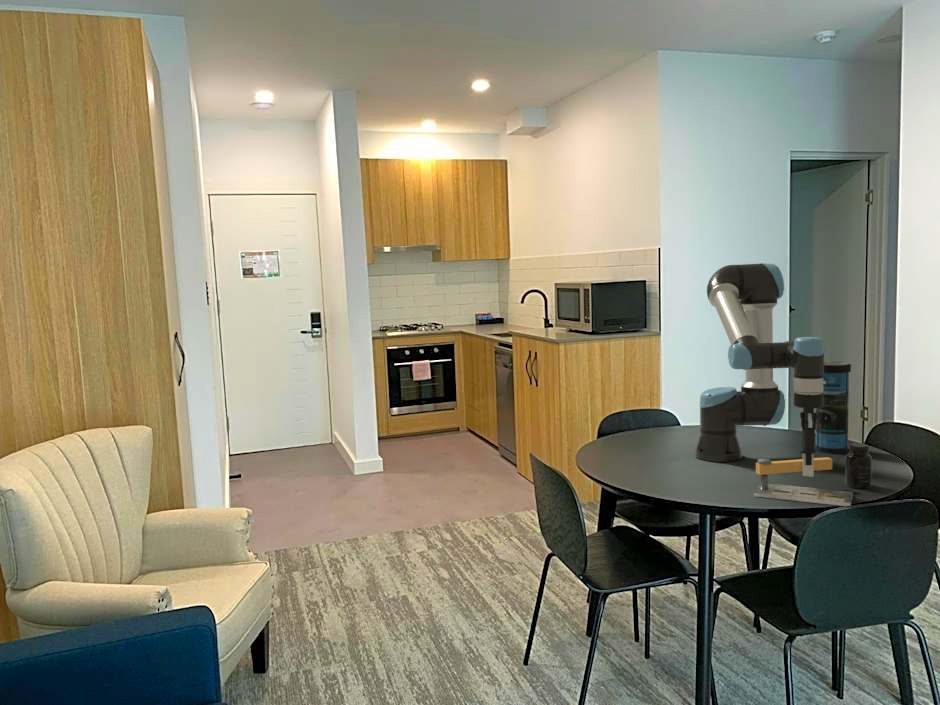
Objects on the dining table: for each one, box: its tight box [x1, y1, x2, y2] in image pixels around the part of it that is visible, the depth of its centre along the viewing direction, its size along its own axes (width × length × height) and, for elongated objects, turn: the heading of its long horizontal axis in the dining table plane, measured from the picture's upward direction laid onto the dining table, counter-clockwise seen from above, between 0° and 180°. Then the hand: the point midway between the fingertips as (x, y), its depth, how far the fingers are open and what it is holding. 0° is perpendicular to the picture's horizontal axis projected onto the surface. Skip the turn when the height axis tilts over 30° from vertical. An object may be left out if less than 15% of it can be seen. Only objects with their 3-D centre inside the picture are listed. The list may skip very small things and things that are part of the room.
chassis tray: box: [753, 474, 854, 507], centre depth 204 cm, size 24×11×5 cm, turn 60°
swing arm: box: [755, 456, 834, 476], centre depth 209 cm, size 22×4×4 cm, turn 97°
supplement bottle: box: [844, 442, 873, 490], centre depth 211 cm, size 7×7×12 cm
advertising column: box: [814, 361, 852, 454], centre depth 252 cm, size 11×11×30 cm
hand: (808, 475), depth 207 cm, fingers closed
